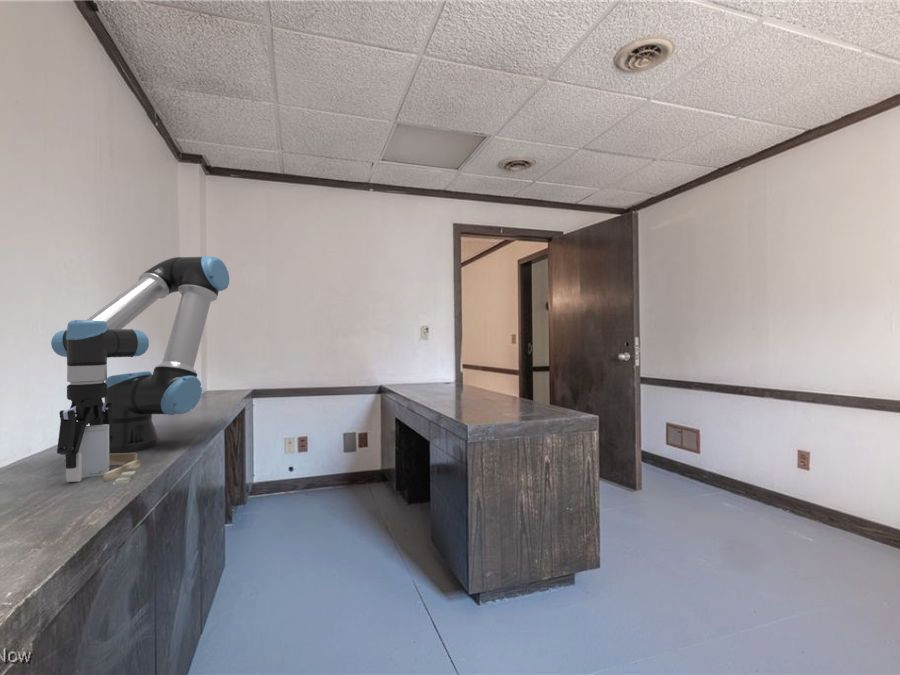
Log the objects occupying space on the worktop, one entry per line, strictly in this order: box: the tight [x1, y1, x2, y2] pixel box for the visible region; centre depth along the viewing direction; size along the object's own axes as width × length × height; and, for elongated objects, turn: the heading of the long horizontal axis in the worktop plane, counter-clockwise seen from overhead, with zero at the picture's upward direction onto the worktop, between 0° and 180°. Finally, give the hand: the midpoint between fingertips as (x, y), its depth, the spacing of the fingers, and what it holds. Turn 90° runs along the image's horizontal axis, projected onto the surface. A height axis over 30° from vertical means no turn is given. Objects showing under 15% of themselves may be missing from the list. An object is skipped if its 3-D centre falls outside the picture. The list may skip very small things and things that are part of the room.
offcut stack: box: [112, 470, 137, 485], centre depth 102 cm, size 8×3×1 cm, turn 22°
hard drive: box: [65, 424, 110, 481], centre depth 105 cm, size 2×8×12 cm, turn 119°
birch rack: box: [103, 452, 142, 483], centre depth 107 cm, size 16×13×3 cm
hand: (87, 475), depth 104 cm, fingers open, 7 cm apart
